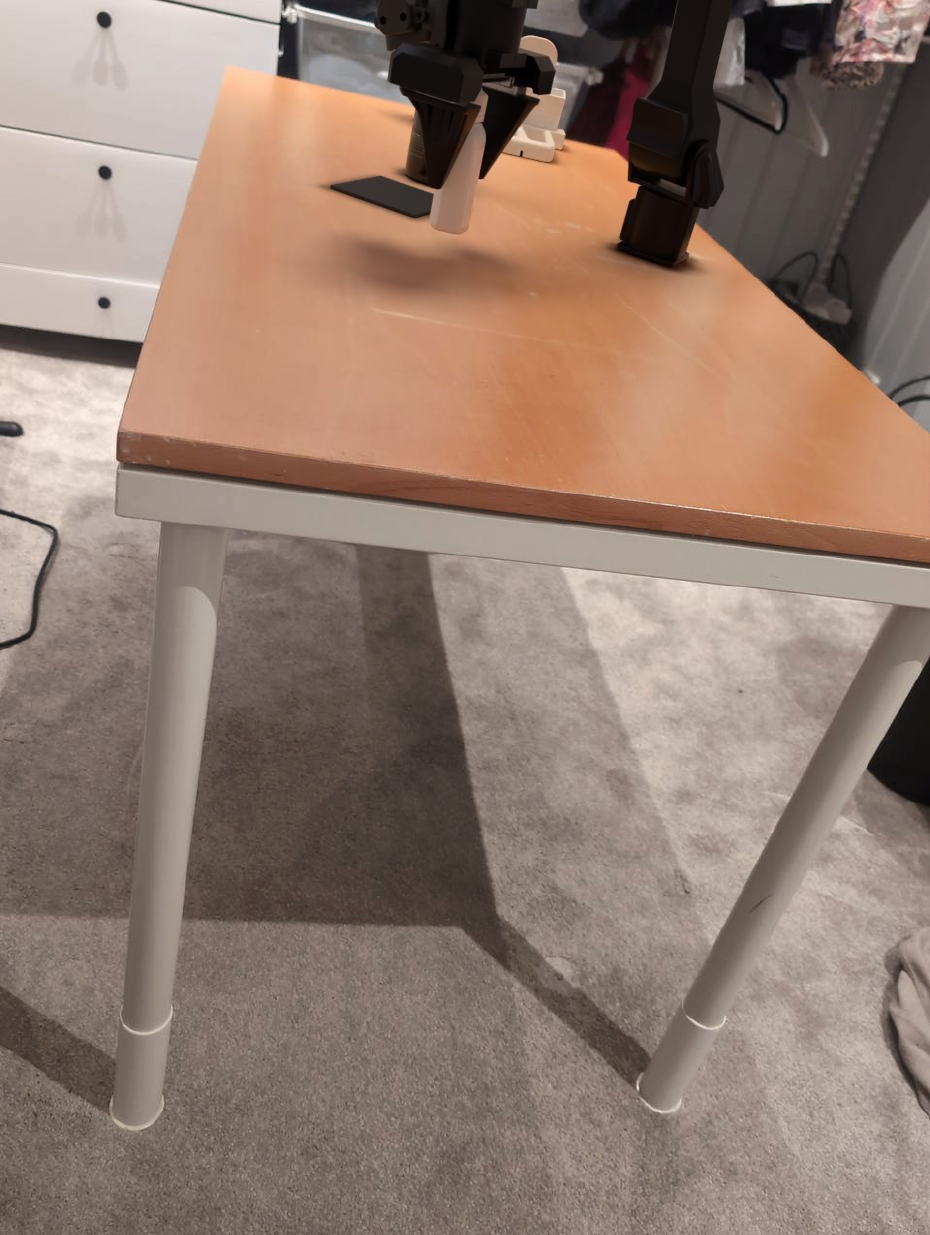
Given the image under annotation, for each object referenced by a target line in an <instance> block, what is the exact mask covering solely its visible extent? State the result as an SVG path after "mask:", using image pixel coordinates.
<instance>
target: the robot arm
mask: <svg viewBox="0 0 930 1235" xmlns="http://www.w3.org/2000/svg"><path fill="white" fill-rule="evenodd" d="M676 2H677V3H676V6H675V11H674V16H673V21H672V26H671V30H670V35H669V40H668V44H667V50H666V55H665V59H664V65H663V69H662V74H661V76H660V79H659V81H658V82H657V84H655V86H654V87H653V88H652V90H650V92H649V94H648V95H646V97H642V96H638V97H637V98H636V100H635V102H634V103H633V106H632V116H631V123H630V127H629V129H628V132H627V135H626V137H625V141H627V142H628V148H627V149H628V151H627V152H628V164H627V178H626V180H627V182H629V183H632V184H636V185H639V186H638V187H637V191H636V194H635V197H633V198H631V199H630V200H629V201H628V203H627V207H626V210H625V214H624V218H623V221H622V225H621V228H620V233H619V235H618V238H619V242H617V243H616V245H615V246H616V247H615V248H616V249H618V250H621V251H623V252H626V253H630V254H632V255H635V256H637V257H641V258H644V259H647V260H650V261H653V262H656V263H659V264H661V265H664V266H668V267H675V266H676V265H678V264H681V263H682V262H683V261H686V260H687V259H689V256H690V253H689V252H687V250H688V247H689V245H690V241H691V238H692V234H693V232H694V229H695V226H696V222H697V220H698V216H699V213H700V210H701V209H703V210H709V208H714V207H715V206H716V205H717V203H718V201H719V199H720V197H721V196H722V194H723V192H724V190H725V183H724V179H723V173H722V169H721V165H720V161H719V156H718V152H717V149H718V144H719V143H718V142H719V137H720V136H719V135H720V128H721V122H722V121H721V115H720V112H719V107H718V104H717V99H716V95H715V91H714V83H715V78H716V74H717V70H718V66H719V62H720V58H721V54H722V50H723V49H722V48H723V45H724V40H725V36H726V32H727V28H728V25H729V24H728V23H729V20H730V16H731V15H730V14H731V12H732V8H733V2H734V0H677V1H676ZM538 5H539V0H378V4H377V5H376V16H375V17H374V19H373V25H374V27H375V29H376V30H378V31H379V32H380V33H381V34H382V35H383V36H384V38H385V46H386V52H391V53H390V57H389V64H388V65H389V66H388V70H387V77H386V78H387V79H386V81H387V82H388V83H390V84H392V85H395V86H398V89H399V92H400V94H401V95H402V96H403V97H406V98H407V99H408V100H409V102H410V104H411V105H412V106H413V108H414V110H415V109H416V111H417V112H418V115H419V118H420V124H421V130H422V136H423V145H424V154H425V163H426V171H427V180H428V184H427V185H428V187H429V188H431V189H434V190H435V189H437V190H439V189H441V188H442V187H443V185H444V183H445V181H446V179H447V178H448V176H449V174H450V172H451V170H452V168H453V166H454V164H455V161H456V159H457V157H458V155H459V153H460V151H461V149H462V147H463V145H464V143H465V141H466V139H467V136H468V134H469V132H470V130H471V128H472V126H473V124H474V122H475V120H476V118H477V116H478V114H479V112H480V110H481V106H480V105H477V104H473V103H470V102H474V101H475V100H476V98H477V96H478V94H479V93H480V91H481V87H482V90H483V91H484V92H485V93H486V94H487V95H488V100H487V105H486V111H485V116H484V121H483V122H481V123H482V125H483V128H484V130H485V134H486V142H485V148H484V153H483V158H482V163H481V168H480V173H479V178H478V180H481V181H482V180H484V179H485V178H486V177H487V175H488V173H489V172H490V170H492V168H493V166H494V165H495V163H496V162H497V160H498V159H499V158H500V156H501V155H502V153H503V152H502V151H503V150H504V148H505V147H506V146H507V144H508V143H509V141H510V140H511V138H512V137H513V136H514V134H515V133H516V131H517V130H518V129H519V127H520V126H521V125H522V123H523V122H524V120H525V119H526V118H527V116H528V115H529V114H530V112H531V111H532V110H533V108H534V107H535V106H537V105H538V104H539V102H540V99H538V98H535V97H532V96H529V95H526V90H527V87H528V88H532V90H533V94H537V95H547V94H551V90H552V88H553V85H554V80H555V76H556V72H557V70H556V67H555V68H554V66H553V64H552V62H551V60H550V57H549V56H546V55H543V54H539V53H536V52H532V51H529V50H526V49H522V48H519V47H520V42H521V38H523V32H524V28H525V27H524V26H525V22H526V17H527V13H528V10H538Z"/></svg>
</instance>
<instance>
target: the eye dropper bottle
mask: <svg viewBox="0 0 930 1235" xmlns="http://www.w3.org/2000/svg"><path fill="white" fill-rule="evenodd" d="M487 100H488V95H487V94H486V93H485V92H484V91H483V90H482V87H481V91H480V93H479V94H478V96H477V98H476V100H475V101H474V102H470V103H473V104H477V105H480V106H481V110H480V112H479V114H478V116H477V118H476V120H475V122H474V124H473V126H472V128H471V130H470V132H469V134H468V136H467V139H466V141H465V143H464V145H463V147H462V149H461V151H460V153H459V155H458V157H457V159H456V161H455V164H454V166H453V168H452V170H451V172H450V174H449V176H448V178H447V179H446V181H445V183H444V185H443V187H442V188H441V189H439V190H437V189H434V192H433V194H434V196H433V202H432V208H431V213H430V214H429V224H430V226H431V227H432V228H433V230H434V231H438V232H442V233H446V234H451V235H456V236H459V235H463V234H465V233H466V232H468V230H469V228H470V223H471V218H472V212H473V208H474V203H475V197H476V192H477V188H478V181H479V179H478V178H479V173H480V168H481V163H482V158H483V153H484V148H485V142H486V134H485V130H484V128H483V125H482V123H481V122H483V121H484V116H485V111H486V105H487Z"/></svg>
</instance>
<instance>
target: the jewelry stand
mask: <svg viewBox="0 0 930 1235" xmlns="http://www.w3.org/2000/svg"><path fill="white" fill-rule="evenodd" d="M519 48H522V49H526V50H529V51H532V52H536V53H539V54H543V55H546V56H549V57H550V60H551V62H552V64H553V66H554V68H555V69H556V66H557V63H558V50H557V47H556V45H555V44H554V43H553V42H552V41H551V40H549V39H548V38H544V37H540V36H536V35H526V36H522V37H521V42H520V47H519ZM566 93H567V91H566V90H565V89H560V88H557V87H552V90H551V94H547V95H537V94H533V90H532V88H528V87H527V90H526V95H529V96H532V97H535V98H538V99H540V102H539V104H538V105H537V106H535V107H534V108H533V110H532V111H531V112H530V114H529V115H528V116H527V118H526V119H525V120H524V122H523V123H522V125H521V126H520V127H519V129H518V130H517V131H516V133H515V134H514V136H513V137H512V138H511V140H510V141H509V143H508V144H507V146H506V147H505V148H504V150H503V151H502V153H503V154H509V155H513V156H517V157H520V156H521V155H522V158H525V159H531V160H536V161H540V162H543V163H550V162H552V161H553V160H554V155H555V151H556V150H563V148H564V143H565V139H566V132H565V130H564V129H562V128H559V125H560V120H561V117H562V113H563V110H564V107H565V103H566V100H567V99H566V98H567V97H566V96H567V95H566Z"/></svg>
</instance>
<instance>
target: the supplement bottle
mask: <svg viewBox="0 0 930 1235" xmlns="http://www.w3.org/2000/svg"><path fill="white" fill-rule="evenodd" d="M404 170H405V173H406V175H407V176H408V177H410V178H411V179H413V180H415V181H418V182H420V183H422V184H423V183H424V184H427V185H428V180H427V171H426V163H425V154H424V145H423V136H422V130H421V124H420V118H419V115H418V112H417V111H416V109H415V108H414V113H413V119H412V125H411V131H410V137H409V143H408V149H407V155H406V161H405V167H404Z"/></svg>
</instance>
